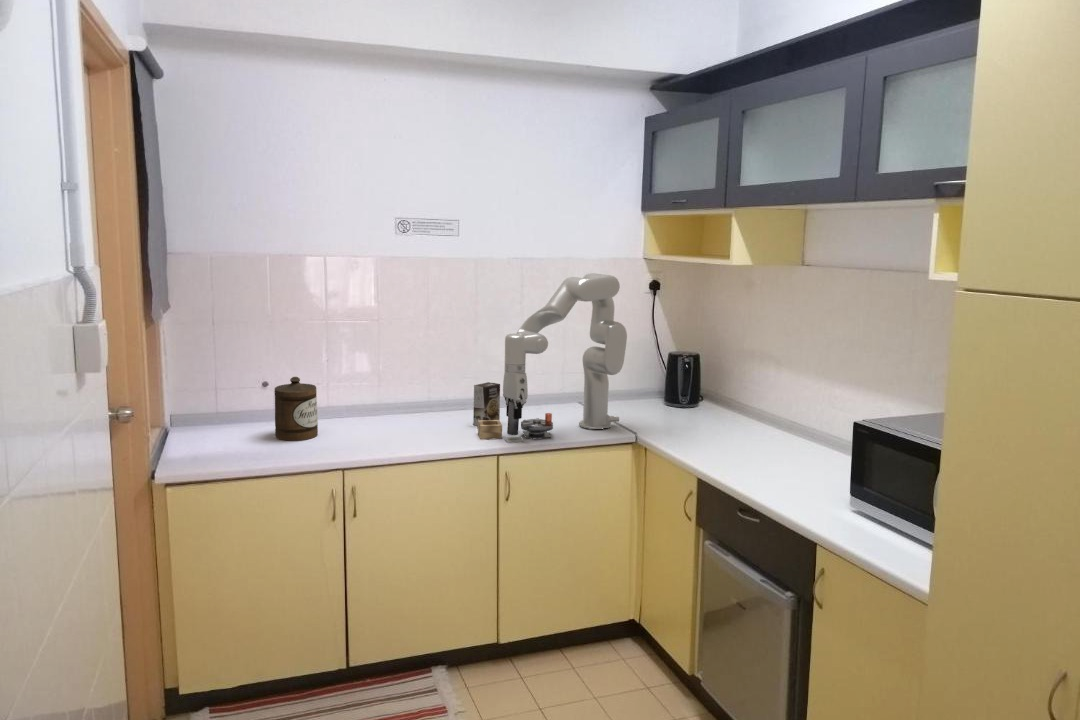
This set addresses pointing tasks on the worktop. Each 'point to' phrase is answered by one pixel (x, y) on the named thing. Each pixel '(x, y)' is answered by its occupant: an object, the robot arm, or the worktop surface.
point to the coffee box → (486, 402)
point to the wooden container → (296, 411)
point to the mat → (514, 439)
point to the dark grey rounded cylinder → (512, 420)
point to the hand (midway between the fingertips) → (513, 416)
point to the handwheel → (538, 424)
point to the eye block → (489, 429)
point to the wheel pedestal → (536, 434)
